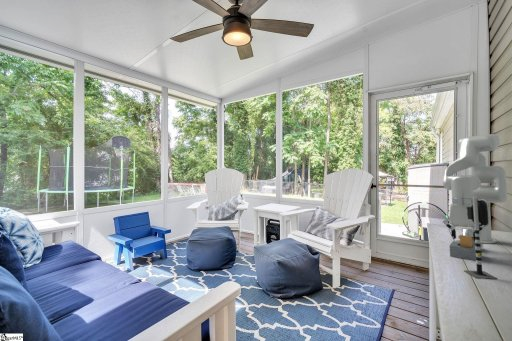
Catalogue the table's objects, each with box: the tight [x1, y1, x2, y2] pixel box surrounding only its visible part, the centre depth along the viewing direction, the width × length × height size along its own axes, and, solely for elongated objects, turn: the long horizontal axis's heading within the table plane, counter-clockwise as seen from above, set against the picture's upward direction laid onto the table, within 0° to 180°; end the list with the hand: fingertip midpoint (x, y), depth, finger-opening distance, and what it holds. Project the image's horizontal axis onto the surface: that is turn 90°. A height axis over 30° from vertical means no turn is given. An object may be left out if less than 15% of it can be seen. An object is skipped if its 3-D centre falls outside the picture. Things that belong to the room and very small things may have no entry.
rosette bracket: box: [449, 227, 484, 261], centre depth 119 cm, size 26×11×10 cm, turn 134°
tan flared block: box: [458, 234, 473, 247], centre depth 114 cm, size 4×5×9 cm
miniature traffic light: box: [463, 197, 498, 280], centre depth 93 cm, size 8×8×30 cm
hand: (464, 239), depth 114 cm, fingers open, 6 cm apart
